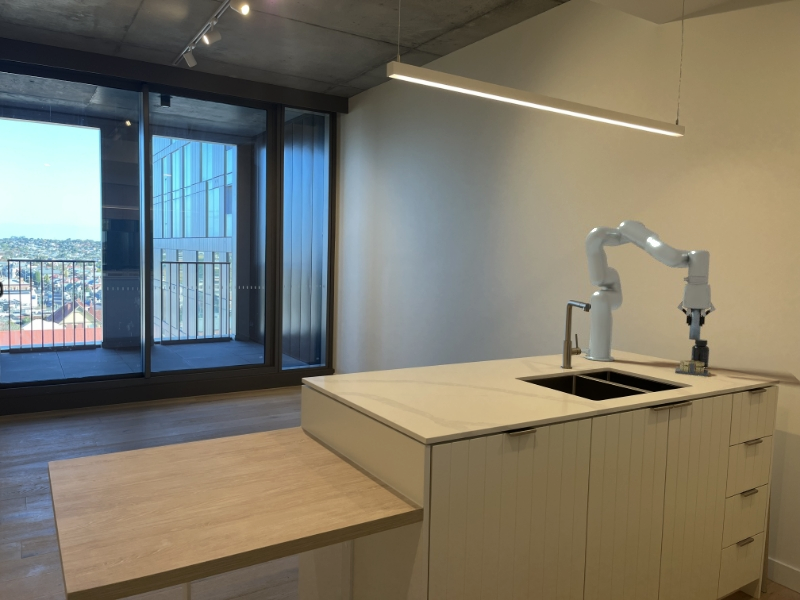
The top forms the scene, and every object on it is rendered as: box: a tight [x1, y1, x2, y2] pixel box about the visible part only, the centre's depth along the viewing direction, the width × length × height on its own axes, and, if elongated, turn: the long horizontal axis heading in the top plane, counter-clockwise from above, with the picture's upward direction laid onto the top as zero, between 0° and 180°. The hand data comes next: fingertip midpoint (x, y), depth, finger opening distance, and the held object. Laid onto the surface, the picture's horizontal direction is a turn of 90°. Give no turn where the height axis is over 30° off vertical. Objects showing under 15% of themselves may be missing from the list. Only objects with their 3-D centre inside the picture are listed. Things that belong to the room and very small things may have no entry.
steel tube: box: [688, 309, 702, 341], centre depth 248 cm, size 4×4×14 cm
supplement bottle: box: [690, 338, 710, 367], centre depth 266 cm, size 7×7×12 cm
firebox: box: [674, 359, 709, 377], centre depth 249 cm, size 12×12×4 cm
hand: (695, 325), depth 248 cm, fingers closed on steel tube, 4 cm apart
